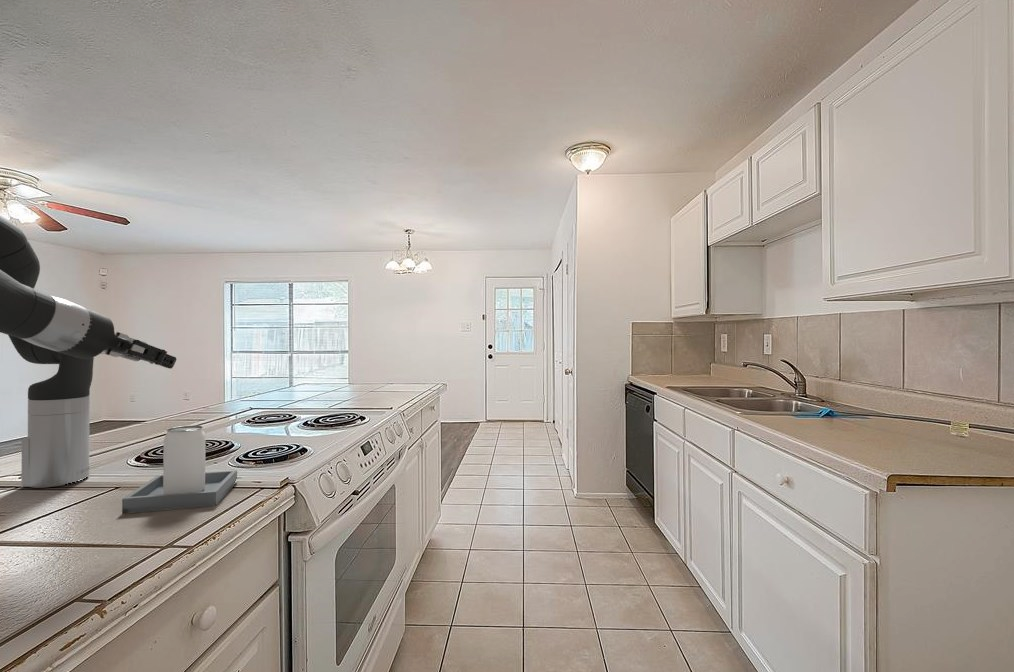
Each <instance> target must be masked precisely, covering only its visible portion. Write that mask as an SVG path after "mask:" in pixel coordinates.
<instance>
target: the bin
mask: <svg viewBox="0 0 1014 672" xmlns="http://www.w3.org/2000/svg"><path fill="white" fill-rule="evenodd" d="M236 479H237V480H238V470H237V469H235V470H234V469H233V470H222V471H220V470H219V471H205V489H204V490H203V491H202V492H189V493H176V494H163V474H159V475H156V476H155V477H153V478H151V479H149V480H148V481H147V482H146V483H144V484H143V485H141V486H140V487H138V488H137V489H135V490H133V491H132V492H131V493H129V494H128V495H126V496H124V497H123V498H122V500H121V501H122V502H121V509H122V510H121V513H122V514H134V513H135V514H136V513H145V512H147V513H148V512H156V511H157V512H160V511H171V510H181V509H183V510H184V509H185V510H186V509H195V508H207V507H216V506H218V504H219V503H220V502H221V501H222V500H223V499H224V498H225V497H226V495H227V494H228V493H229V492H230V491H231V490H232V489H233V487H234V486H235V485H234V483H235V481H236Z"/></svg>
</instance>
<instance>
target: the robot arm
mask: <svg viewBox="0 0 1014 672" xmlns="http://www.w3.org/2000/svg"><path fill="white" fill-rule="evenodd" d="M39 260H40V259H39V258H38V256H37V254H36V252H35V251H34V249H33V247H32V245H31V243H30V241H28V238H27V236H26V235H25V233H24V232H23V230H22V229H21V228H20V227H18V226H17V225H16V224H15V223H13V222H12V221H11V220H9V219H8V218H6V217H4V216H3V215H1V214H0V333H1V334H4V335H8V337H9V340H10V342H11V344H12V345H13V347H14V349H15V350H16V352H17V353H18V355H19V356H20V357H21V358H22V359H23V360H25V361H26V362H28V363H32V364H36V365H58V369H57V372H56V373H55V374H54V375H53V376H51V377H50V378H47V379H44V380H42V381H38V382H35V383H32V384H31V385H29V387H28V389H27V436H26V437H23V438H22V439H21V473H20V474H21V480H20V482H21V486H20V487H21V488H25V487H27V488H28V487H29V488H37V489H38V488H39V489H41V488H51V487H52V488H53V487H60V486H66V485H65V484H67V485H69V484H68V483H71V484H73V483H72V482H75V483H77V482H76V481H78V480H80V479H83V478H85V477H88V476H89V477H90V395H91V394H90V390H91V386H92V382H93V377H94V375H93V374H94V361H95V360H94V359H95V357H97V356H99V355H107V356H110V357H114V358H119V357H120V358H123V359H125V360H129V361H132V362H139V361H144V362H146V363H149V364H151V365H155V366H156V365H157V366H160V367H163V368H166V369H173V368H174V366H175V364H176V361H177V357H176V356H173V355H171V354H168V351H166V350H165V349H162V348H159V347H157V346H153V345H152V344H148V343H147V342H145V341H143V340H139V339H135V338H132V337H130V336H129V335H128V334H125V333H122V332H118V331H117V332H115V325H114V323H113V321H112V320H111V318H109V317H108V316H106V315H104V314H101V313H99V312H97V311H94V310H92V309H89V308H87V307H84V306H82V305H80V304H77V303H74V302H73V301H71V300H70V301H69V300H68V299H65V298H61V297H58V296H53V295H52V294H51V295H50V294H48V293H46V292H43V291H41V290H39V289H36V288H35V287H36V284H37V282H38V279H39V276H40V271H41V265H40V261H39ZM89 477H88V478H89Z"/></svg>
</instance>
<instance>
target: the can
mask: <svg viewBox="0 0 1014 672" xmlns="http://www.w3.org/2000/svg"><path fill="white" fill-rule="evenodd" d="M203 429H204V427H203V426H202V425H181V426H175V427H170V428H166V433H165V435H164V438H163V456H162V457H163V459H162V460H163V461H162V463H163V471H162V473H163V474H162V475H163V494H176V493H189V492H202V491H203V490H204V489H205V472H206V433H205V432H204V430H203Z"/></svg>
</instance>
